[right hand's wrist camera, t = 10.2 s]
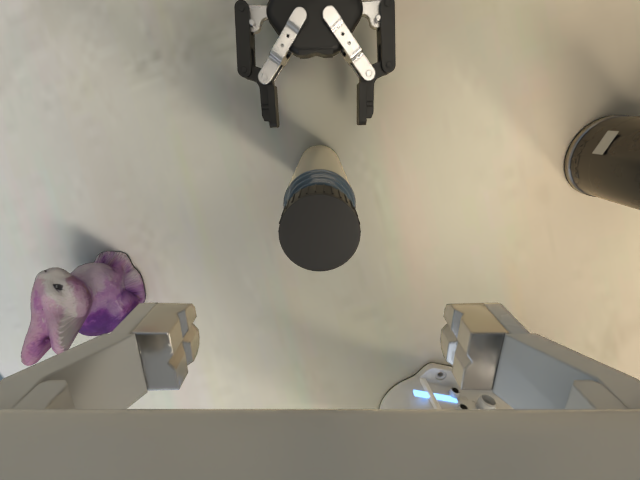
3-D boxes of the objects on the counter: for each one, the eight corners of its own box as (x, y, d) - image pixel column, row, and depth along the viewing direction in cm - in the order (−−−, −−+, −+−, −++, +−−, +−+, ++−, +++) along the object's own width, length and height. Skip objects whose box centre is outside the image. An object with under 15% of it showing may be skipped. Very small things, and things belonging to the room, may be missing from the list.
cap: (337, 265, 21) (339, 284, 19) (271, 237, 21) (265, 253, 18) (369, 202, 20) (376, 214, 17) (300, 171, 19) (297, 178, 17)
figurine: (105, 232, 44) (5, 287, 30) (165, 285, 47) (99, 359, 33) (61, 274, 46) (-51, 344, 32) (121, 323, 49) (42, 407, 35)
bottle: (329, 192, 43) (341, 286, 19) (292, 176, 42) (259, 253, 19) (346, 155, 41) (382, 209, 18) (309, 137, 40) (294, 169, 17)
